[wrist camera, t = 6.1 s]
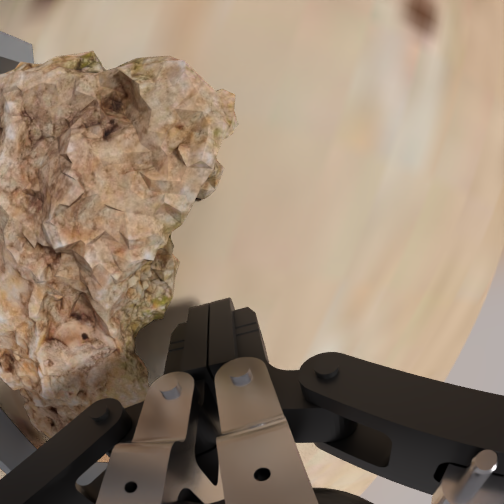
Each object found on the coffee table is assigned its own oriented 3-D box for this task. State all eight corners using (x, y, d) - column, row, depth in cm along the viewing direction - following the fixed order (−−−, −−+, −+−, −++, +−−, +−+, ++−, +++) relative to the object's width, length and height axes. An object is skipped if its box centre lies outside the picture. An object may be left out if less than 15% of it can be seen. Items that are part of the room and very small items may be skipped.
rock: (226, 460, 13) (32, 464, 9) (203, 390, 17) (42, 394, 14) (270, 35, 6) (-77, 66, 3) (223, 66, 11) (-9, 78, 7)
